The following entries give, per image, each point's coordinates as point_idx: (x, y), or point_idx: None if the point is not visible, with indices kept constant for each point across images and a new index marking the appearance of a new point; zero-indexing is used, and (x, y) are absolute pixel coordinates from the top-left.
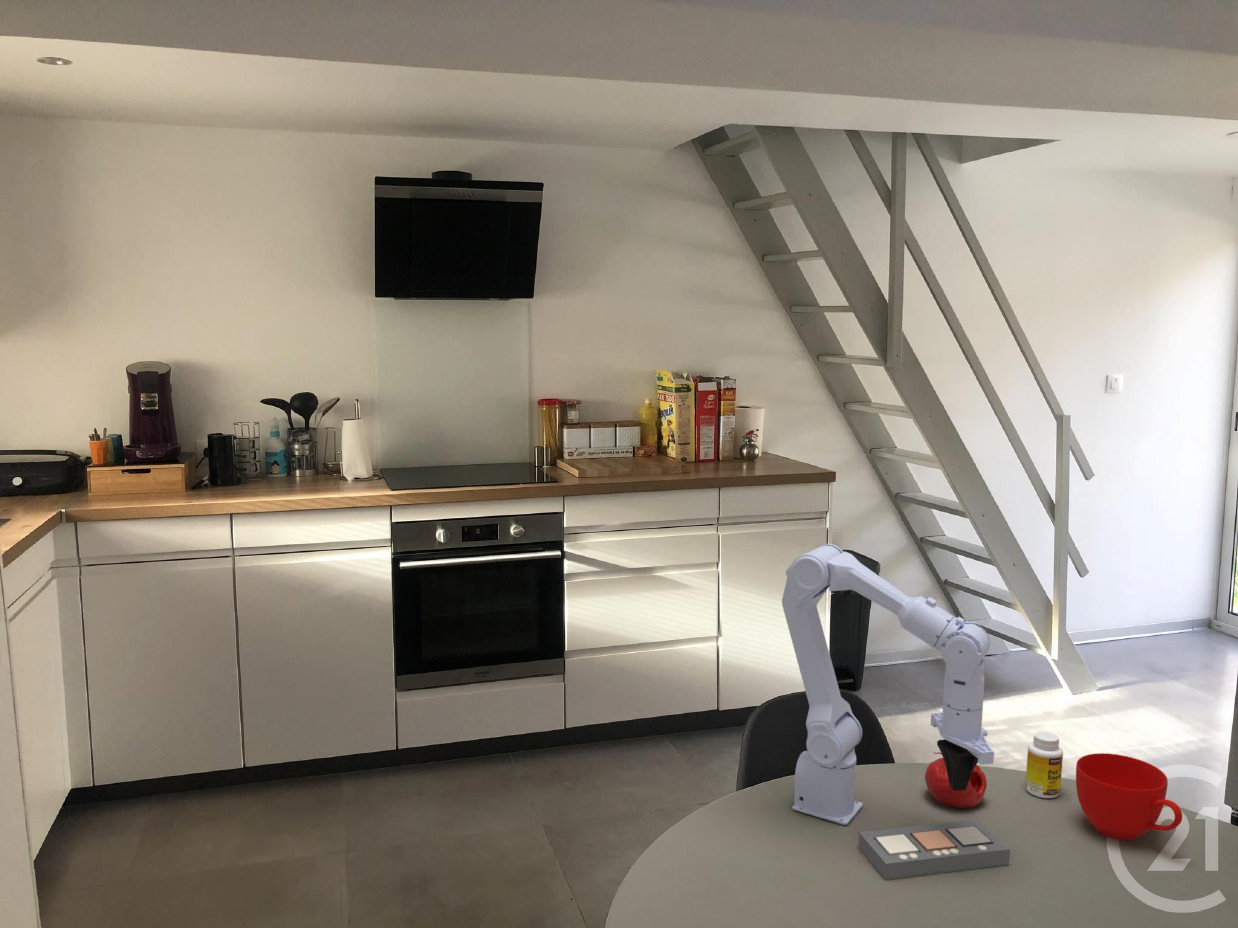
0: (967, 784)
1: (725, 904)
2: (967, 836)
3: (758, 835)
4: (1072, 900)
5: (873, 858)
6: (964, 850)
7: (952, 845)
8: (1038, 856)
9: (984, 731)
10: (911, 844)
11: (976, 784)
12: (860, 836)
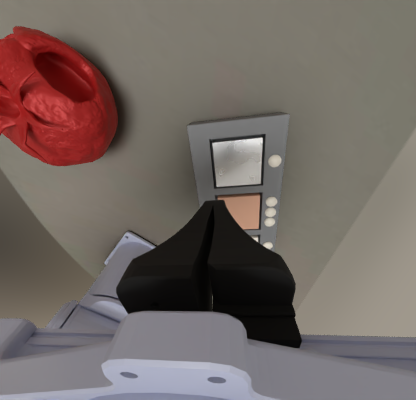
0: (225, 204)
1: None
2: (240, 168)
3: None
4: (411, 51)
5: None
6: (271, 187)
7: (258, 198)
8: (273, 37)
9: (224, 379)
10: None
11: (53, 60)
12: None
